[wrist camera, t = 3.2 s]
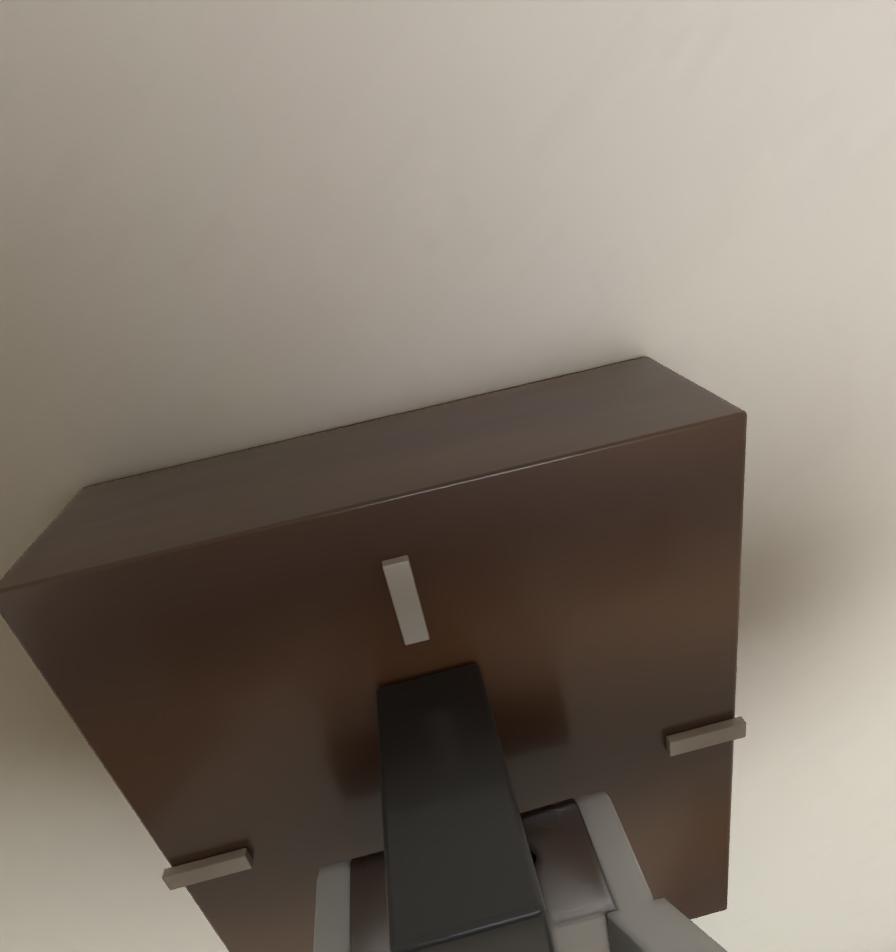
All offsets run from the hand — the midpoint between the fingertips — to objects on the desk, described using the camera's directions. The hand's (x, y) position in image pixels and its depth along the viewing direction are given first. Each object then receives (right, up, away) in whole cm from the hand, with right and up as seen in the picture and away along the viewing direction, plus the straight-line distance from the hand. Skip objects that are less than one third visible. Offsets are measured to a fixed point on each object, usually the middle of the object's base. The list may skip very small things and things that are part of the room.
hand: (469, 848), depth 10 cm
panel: (-1, +2, +3) cm, 4 cm away
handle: (0, 0, +1) cm, 1 cm away
